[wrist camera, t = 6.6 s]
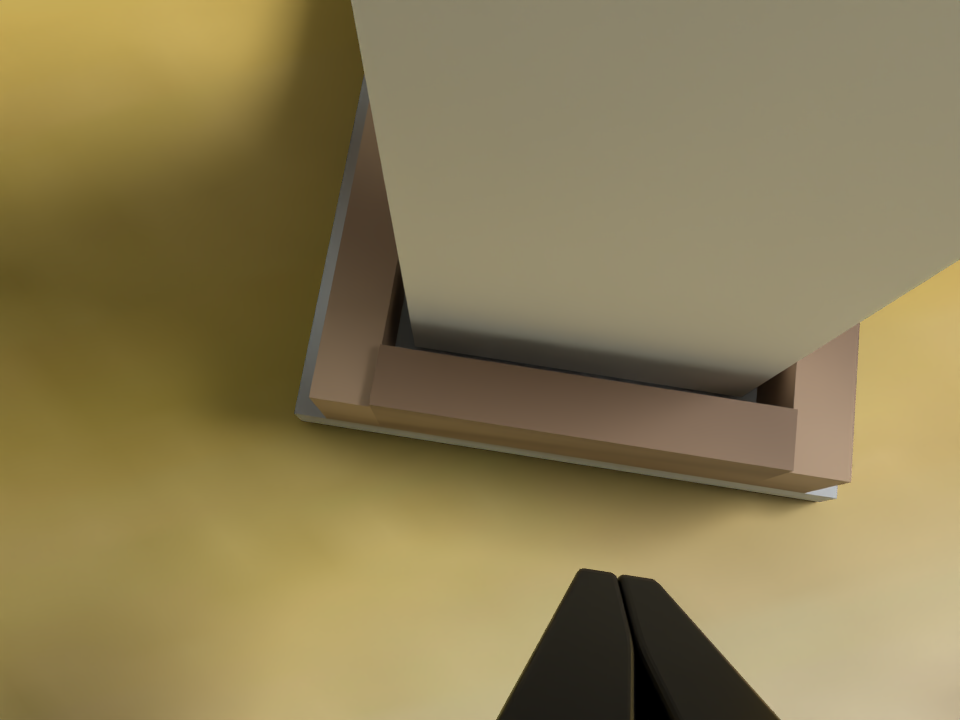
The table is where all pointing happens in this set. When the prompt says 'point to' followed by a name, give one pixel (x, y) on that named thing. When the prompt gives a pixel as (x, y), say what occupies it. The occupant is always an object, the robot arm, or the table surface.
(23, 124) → the table surface
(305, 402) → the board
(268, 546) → the table surface
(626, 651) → the robot arm
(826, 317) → the white juice carton
